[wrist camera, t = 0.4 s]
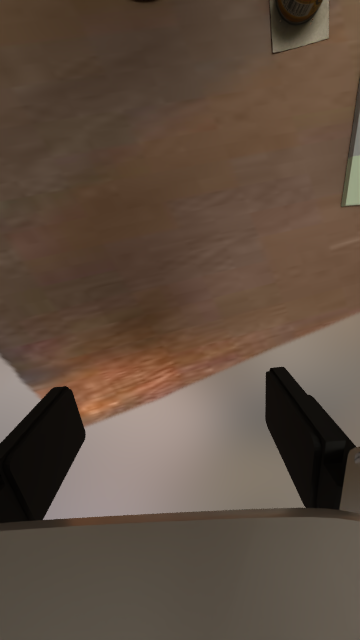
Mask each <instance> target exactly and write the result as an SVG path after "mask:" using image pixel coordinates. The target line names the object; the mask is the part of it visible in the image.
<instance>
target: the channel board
mask: <svg viewBox="0 0 360 640" xmlns="http://www.w3.org/2000/svg"><path fill="white" fill-rule="evenodd" d="M355 205H360V80H359V87H358V94H357V101H356V108H355V114H354V121H353V128H352V135H351V142H350V149H349V156H348V162H347V169H346V176H345V183H344V190H343V197H342V204H341V207H343V206H355Z"/></svg>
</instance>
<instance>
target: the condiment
mask: <svg viewBox="0 0 360 640" xmlns="http://www.w3.org/2000/svg"><path fill="white" fill-rule="evenodd" d="M270 14H271V32H272V43H273V53H275V52H281V51H285V50H288V49H293V48H296V47H300V46H305V45H307V44H310V43H313V42H318V41H320V40H324V39H328V38H329V0H270ZM313 18H314V19H313ZM312 19H313V21H312ZM280 20H281V22H280ZM311 22H312V24H311V25H310V23H311Z"/></svg>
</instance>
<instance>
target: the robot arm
mask: <svg viewBox="0 0 360 640" xmlns="http://www.w3.org/2000/svg"><path fill="white" fill-rule="evenodd" d="M265 417H266V423H267V427H268V429H269V431H270V433H271V435H272V437H273V439H274V442H275V444H276V446H277V448H278V450H279V453H280V455H281V457H282V459H283V461H284V463H285V465H286V467H287V470H288V472H289V474H290V476H291V478H292V480H293V483H294V485H295V487H296V489H297V491H298V493H299V496H300V498H301V500H302V502H303V504H304V506H305V507H306V508H274V509H244V510H223V511H201V512H180V513H162V514H161V513H160V514H143V515H142V514H141V515H123V516H105V517H87V518H72V519H71V518H70V519H54V520H43V518H44V516H45V515H46V512H47V511H48V509H49V507H50V505H51V503H52V501H53V499H54V497H55V495H56V493H57V492H58V490H59V488H60V486H61V484H62V482H63V480H64V478H65V476H66V474H67V472H68V470H69V468H70V467H71V465H72V463H73V461H74V459H75V457H76V455H77V453H78V451H79V449H80V448H81V446H82V444H83V442H84V440H85V429H84V426H83V423H82V420H81V417H80V414H79V411H78V408H77V405H76V402H75V398H74V395H73V392H72V390H71V389H69V388H68V387H66V386H64V387H54V388H52V389H51V390H50V391H49V392H48V394H47V395H46V396H45V397H44V398H43V399H42V400H41V401H40V402H39V403H38V404H37V405H36V406H35V407H34V408H33V409H32V410H31V412H30V413H29V414H28V415H27V416H26V417H25V418H24V419H23V420H22V421H21V422H20V423H19V424H18V425H17V427H16V428H15V429H14V430H13V431H12V432H11V433H10V434H9V435H8V436H7V437H6V438H5V439H4V440H3V441H2V442H1V443H0V640H360V447H356V446H355V445H354V444H353V443H352V441H351V440H350V439H349V438H348V437H347V436H346V435H345V433H344V432H343V431H342V430H341V429H340V428H339V426H338V425H337V424H336V423H335V422H334V421H333V419H332V418H331V417H330V416H329V415H328V414H327V413H326V411H325V410H324V409H323V408H322V407H321V406H320V404H319V403H318V402H317V401H316V400H315V399H314V398H313V397H312V396H311V395H307V394H306V393H305V391H304V390H303V389H302V388H301V387H300V385H299V384H298V383H297V382H296V381H295V379H294V378H293V377H292V376H291V375H290V373H289V372H288V371H287V370H286V369H285V368H284V367H277V368H270V371H268V372H266V415H265Z"/></svg>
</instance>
